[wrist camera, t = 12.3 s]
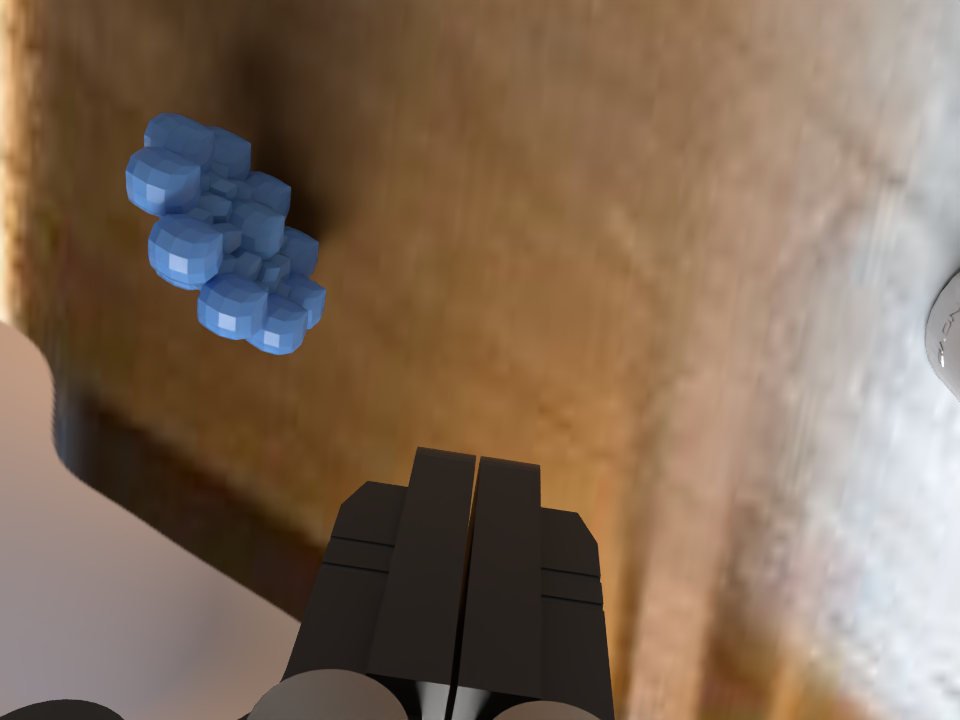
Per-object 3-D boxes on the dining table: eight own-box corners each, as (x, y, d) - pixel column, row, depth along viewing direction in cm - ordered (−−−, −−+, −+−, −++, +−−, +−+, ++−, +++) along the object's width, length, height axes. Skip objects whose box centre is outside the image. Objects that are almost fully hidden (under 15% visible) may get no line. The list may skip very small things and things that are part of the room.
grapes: (136, 124, 42) (0, 194, 31) (254, 65, 41) (153, 118, 30) (259, 325, 47) (176, 445, 36) (369, 279, 45) (317, 391, 34)
